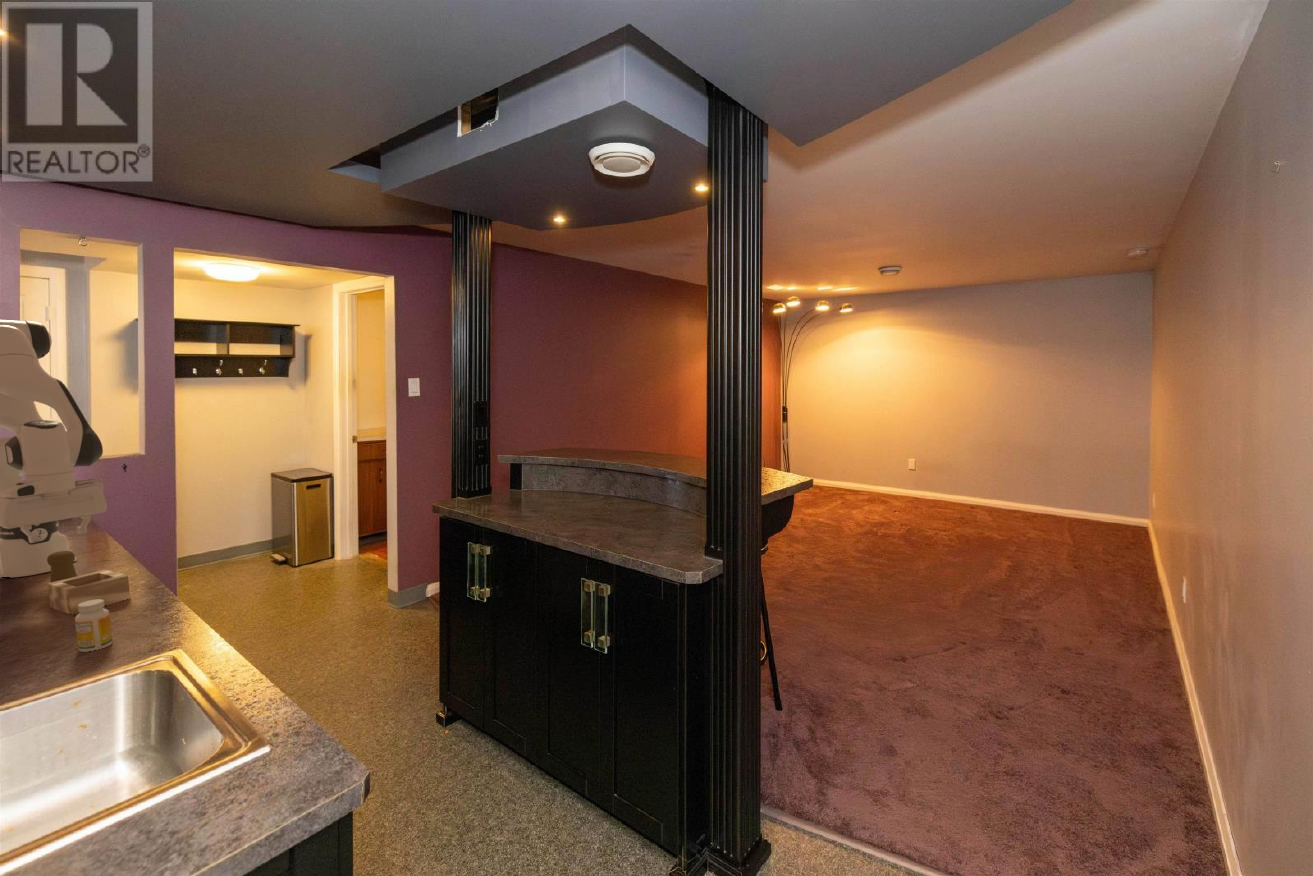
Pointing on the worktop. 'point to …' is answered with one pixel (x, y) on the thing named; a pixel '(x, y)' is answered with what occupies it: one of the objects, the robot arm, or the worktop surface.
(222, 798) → the worktop surface
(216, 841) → the worktop surface
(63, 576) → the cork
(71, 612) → the shaker holder
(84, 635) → the supplement bottle
